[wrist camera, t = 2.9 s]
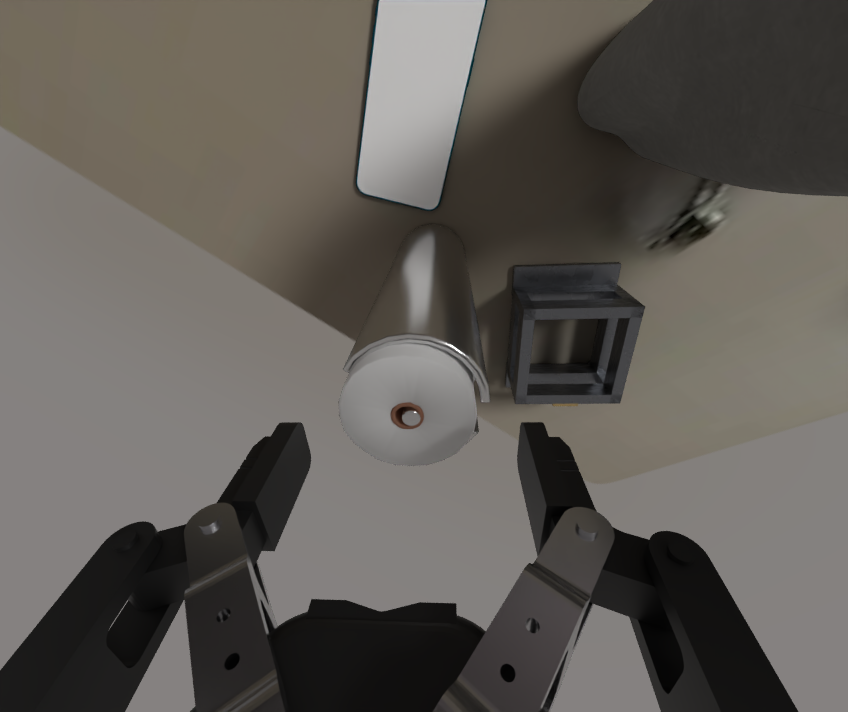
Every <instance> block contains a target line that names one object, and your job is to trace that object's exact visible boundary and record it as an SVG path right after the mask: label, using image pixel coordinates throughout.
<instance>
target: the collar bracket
mask: <svg viewBox="0 0 848 712" xmlns="http://www.w3.org/2000/svg"><path fill="white" fill-rule="evenodd" d="M620 268H621V263H619V262H612V263H579V264H546V265H514V269H513V283H512V308H511V322H510V336H509V349H508V362H507V366H506V379H505V386H506V387H511V389H512V393H513V397H514V400H515V404H552V405H553V406H578V404H594V403H620V401H621V398H622V394H623V390H624V386H625V382H626V378H627V374H628V371H629V367H630V363H631V359H632V355H633V351H634V348H635V344H636V340H637V336H638V332H639V328H640V324H641V321H642V317H643V313H644V309H645V306H644V305H642V304H641V303H640V302H639V301H637V300H636V299H635V298H634V297H632V296H631V295H630V294H629V293H627V292H626V291H625V290H623V289H622V288H621V287H620V286H618V285H617V282H618V277H619V272H620ZM553 319H599V322H598V327H597V332H596V337H595V342H594V347H593V352H592V357H591V361H589V362H588V363H582V364H530V359H531V350H532V341H533V332H534V322H535V320H553ZM596 383H597V384H596Z"/></svg>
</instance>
